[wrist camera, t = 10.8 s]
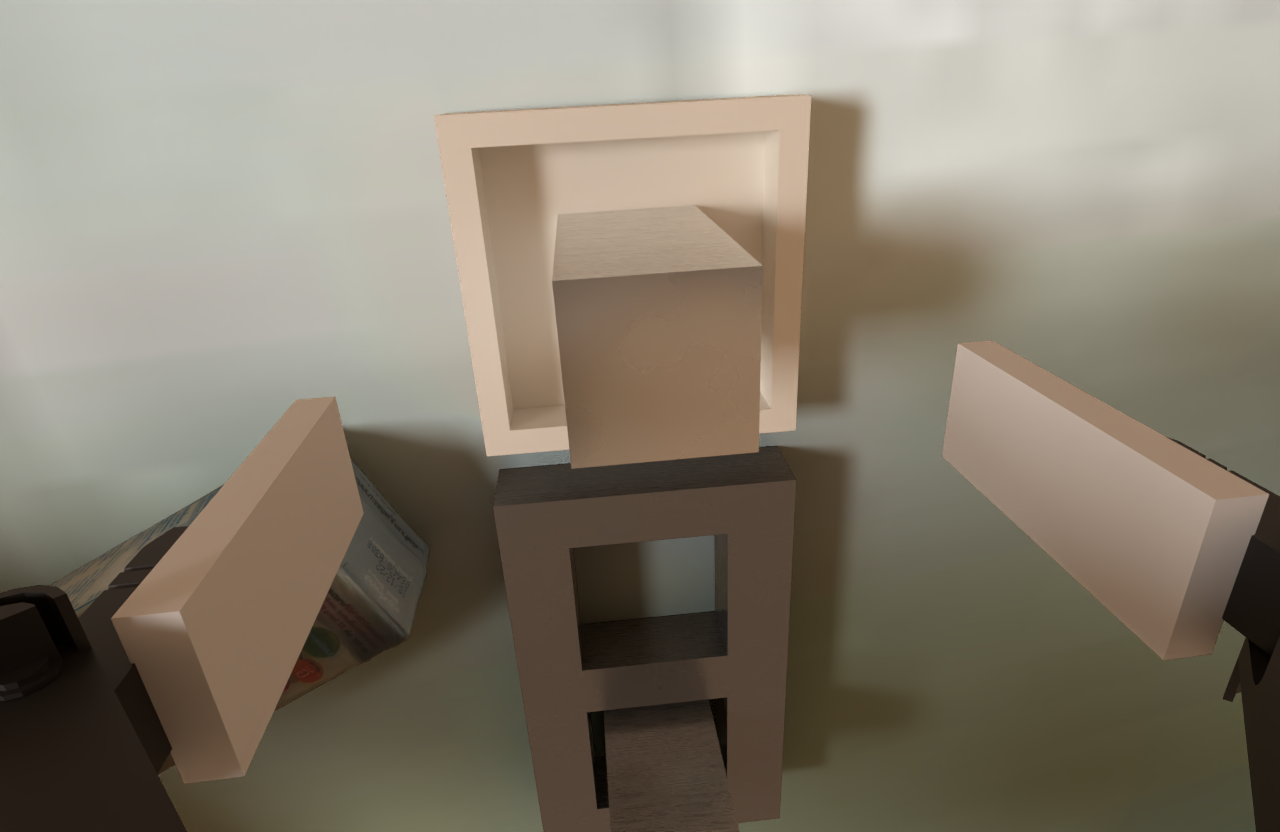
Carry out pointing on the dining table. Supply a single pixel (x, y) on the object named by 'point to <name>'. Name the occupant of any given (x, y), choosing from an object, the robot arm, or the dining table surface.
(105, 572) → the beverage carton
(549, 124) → the tray
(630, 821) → the beige rectangular block
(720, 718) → the rack
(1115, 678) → the dining table surface
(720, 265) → the tan rectangular block
